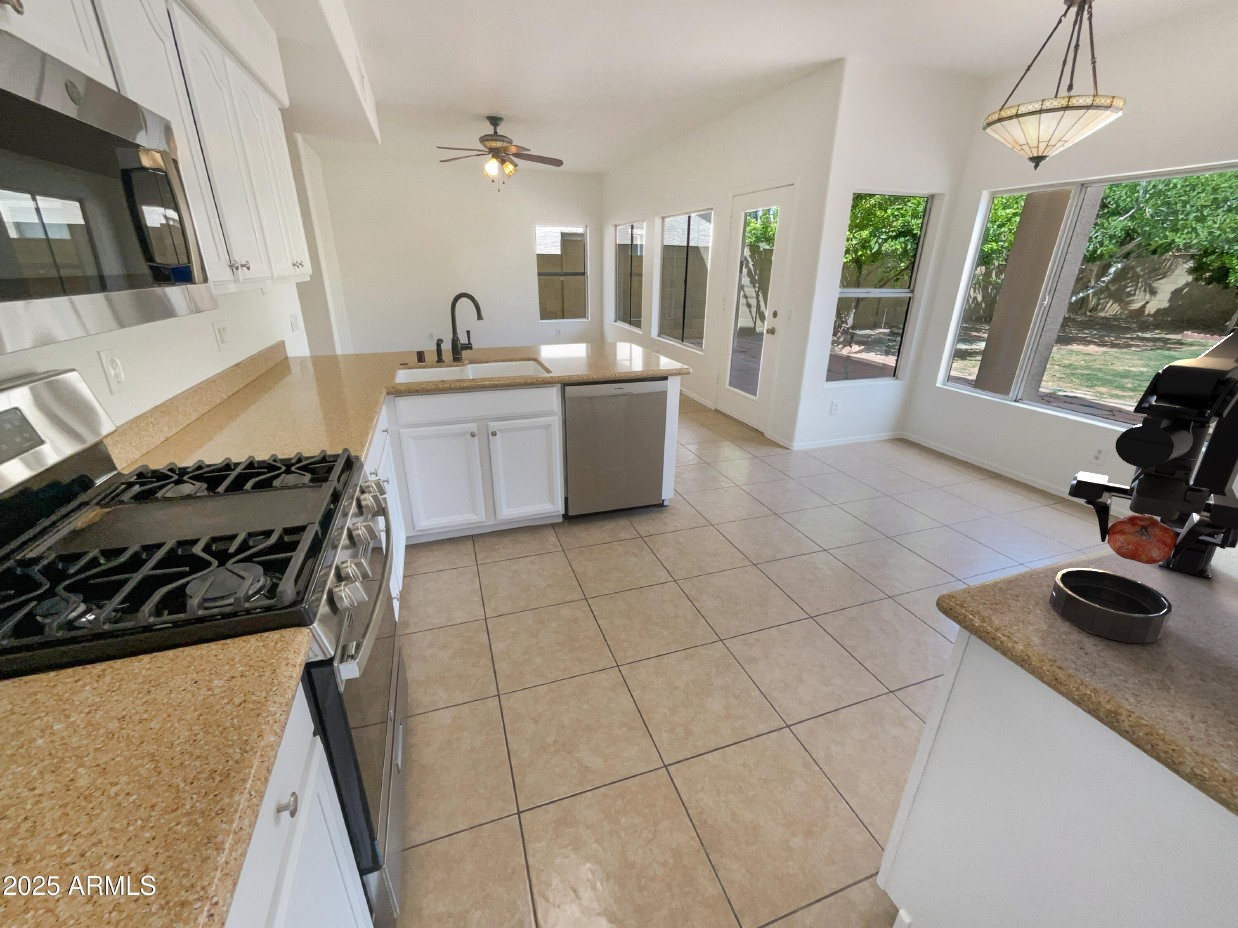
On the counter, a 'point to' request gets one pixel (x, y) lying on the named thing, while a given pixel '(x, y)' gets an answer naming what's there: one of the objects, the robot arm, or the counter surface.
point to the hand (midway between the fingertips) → (1136, 549)
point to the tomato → (1141, 539)
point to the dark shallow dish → (1110, 605)
